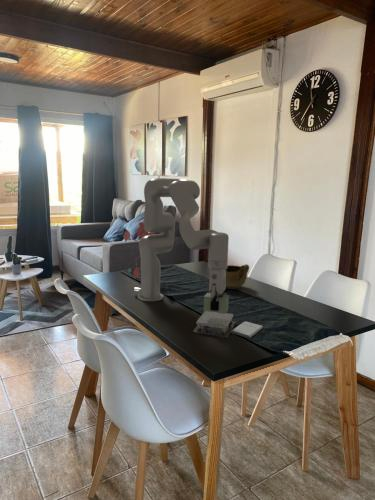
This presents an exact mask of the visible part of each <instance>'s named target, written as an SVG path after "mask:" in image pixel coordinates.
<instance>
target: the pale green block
mask: <svg viewBox="0 0 375 500" xmlns="http://www.w3.org/2000/svg"><path fill="white" fill-rule="evenodd" d="M215 296H216V297H217V295H215ZM229 299H230V295H227V294H224V293H222V294H221V295H220V294H219V296H218V301H219V310H218V311H213V310H210V305H211V293H210V292H206V293H205V294H204V296H203V312H205V311H209V312H216V313H224V314H226V313H228V311H229Z"/></svg>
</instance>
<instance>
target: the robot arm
mask: <svg viewBox="0 0 375 500" xmlns="http://www.w3.org/2000/svg"><path fill="white" fill-rule="evenodd" d="M200 193H201V189H200V186H199V184H198V183H197V182H196V181H194V180H188V179H183V178H182V179H181V178H164V177H163V178H162V177H160V178H159V177H157V178H156V177H155V178H151V179H148V181H146V183H145V184H144V188H143V196H144V197H143V198H144V211H143V212H144V214H143V223H144V229H145V231H147V232H149V233H153V234H154V233H155V234H154V235H146V236H144V237H142V238H141V237H140V238H141V239H140V238H139V239H140V240H138V249H139V253H140V254H139V256H140V287H134V288H133V292H134V293H135V294H137V299H138V300H140V301H142V302H151V303H152V302H158V301H161V300H164V299H163V298H164V294H163V293H161V262H160V261H161V260H160V259H159V257H158V256H157V255H158V254H159V255H160V254H164V253H165V254H166V253H169V252H171V251H172V250H173V247H174V244H175V243H174V242H175V235H176V234H175V233H176V219H175V217H174V216H175V215H173V214H172V213H171V212H166V211H163V210H164V204H163V200H162V198H170V199H171V200H172V202H173V204H174V206H175V208H176V209H177V211H178V213H179V215H180V218H179V222H178V227H179V234H180V236H181V238H182V240H183V242H184V243H185V245H186V246H187V248H189V249H190V250H192V251H193V250H194V251H198V250H203V249H208V260H207V261H208V263H207V264H208V265H207V267H208V269H209V270H210V271H209V280H208V281H209V283H208V286H209V287H208V293H211V305H210V310H213V311H218V310H219V301H218V296H219V294H220V295H221V294H224V292H225V290H226V289H227V288H226V269H227V265H228V262H229V261H228V259H229V258H228V257H229V234H227V233H226V232H222V231H220V232H218V231H216V230H213V229H202V230H201V229H200V230H195V228H194V227H193V226H192V223H191V219H192V218H193V217H195V216H196V215H197V214H198V212H200V211H199V210H200V206H199V204H198V203H197V201H196V200H197V199H198V198H199V197H200ZM160 232H161V233H160ZM157 233H158V234H157ZM215 295H217V297H216V296H215Z"/></svg>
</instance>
